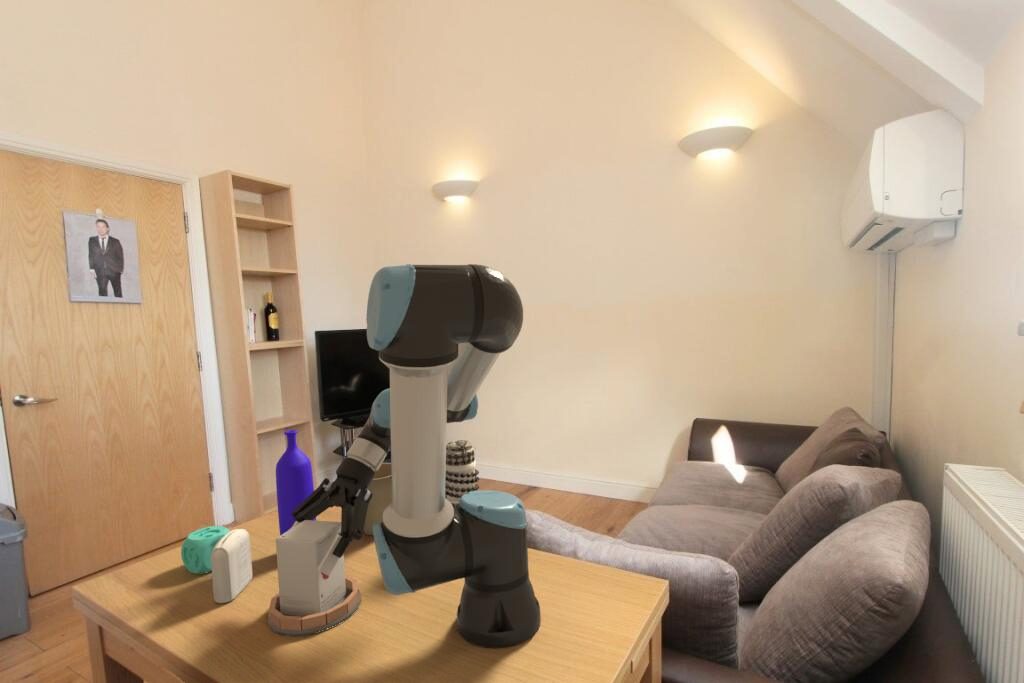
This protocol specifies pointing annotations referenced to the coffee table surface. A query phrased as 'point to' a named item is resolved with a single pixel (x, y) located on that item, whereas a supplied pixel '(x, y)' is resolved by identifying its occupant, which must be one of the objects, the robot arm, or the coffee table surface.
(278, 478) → the bottle
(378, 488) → the plant pot
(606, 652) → the coffee table surface
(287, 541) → the supplement box
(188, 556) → the mint green rounded piece
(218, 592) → the photo printer
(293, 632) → the ringed saucer
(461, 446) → the decorative candle
